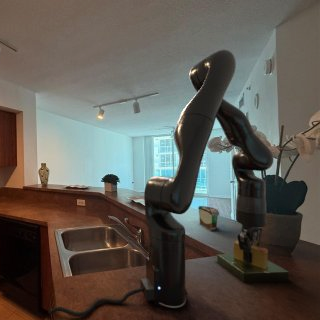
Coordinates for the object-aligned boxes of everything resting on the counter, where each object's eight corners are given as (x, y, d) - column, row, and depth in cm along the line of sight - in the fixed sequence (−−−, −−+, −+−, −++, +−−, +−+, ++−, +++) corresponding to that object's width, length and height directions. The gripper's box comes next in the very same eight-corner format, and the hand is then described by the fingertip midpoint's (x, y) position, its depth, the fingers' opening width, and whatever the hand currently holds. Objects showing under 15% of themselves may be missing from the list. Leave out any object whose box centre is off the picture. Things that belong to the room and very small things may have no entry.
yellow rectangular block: (233, 258, 67) (233, 241, 67) (237, 255, 68) (237, 239, 68) (264, 269, 60) (264, 251, 60) (267, 266, 62) (267, 248, 61)
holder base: (245, 284, 58) (245, 273, 58) (216, 261, 70) (216, 253, 70) (290, 282, 58) (291, 272, 58) (253, 260, 71) (253, 252, 70)
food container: (225, 232, 96) (225, 212, 96) (212, 232, 97) (212, 212, 96) (209, 223, 109) (209, 205, 108) (198, 223, 109) (198, 205, 109)
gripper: (244, 203, 71) (244, 250, 71) (227, 209, 63) (226, 261, 64) (273, 208, 64) (271, 259, 65) (257, 216, 57) (256, 273, 57)
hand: (249, 260), depth 64 cm, fingers closed on yellow rectangular block, 3 cm apart
